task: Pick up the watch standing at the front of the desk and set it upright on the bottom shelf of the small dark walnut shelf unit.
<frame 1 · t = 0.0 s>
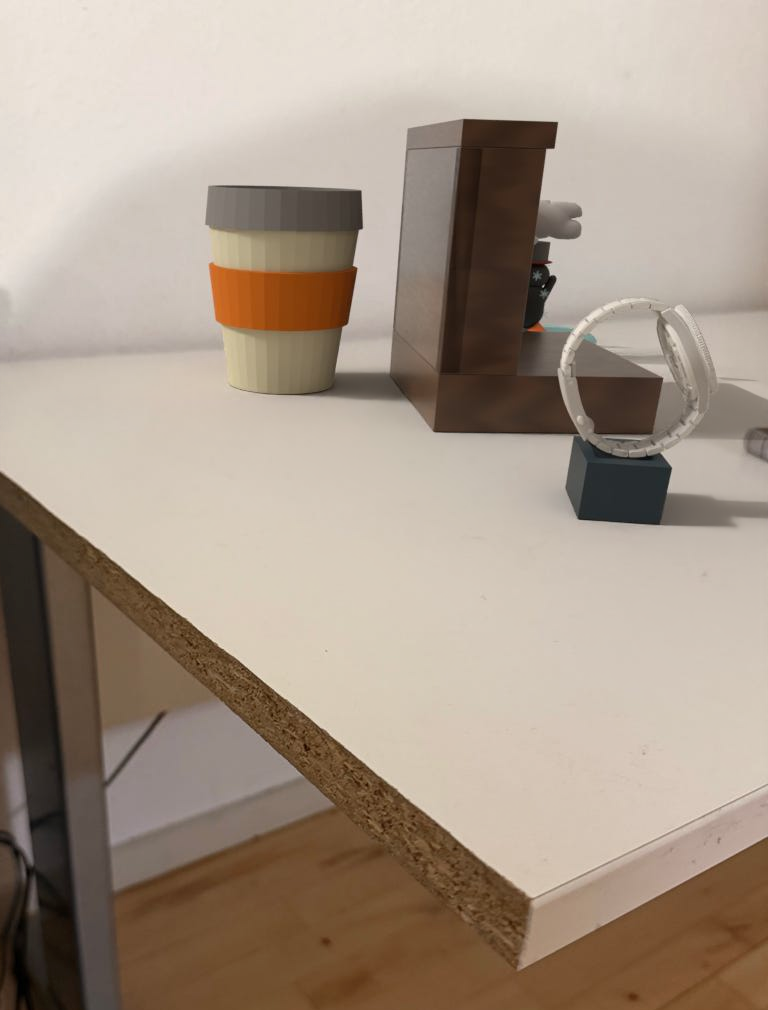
penguin figurine: (494, 353, 98), on the table
reusable coffee cup: (280, 385, 81), on the table
shelf: (506, 401, 77), on the table
watch: (611, 508, 54), on the table
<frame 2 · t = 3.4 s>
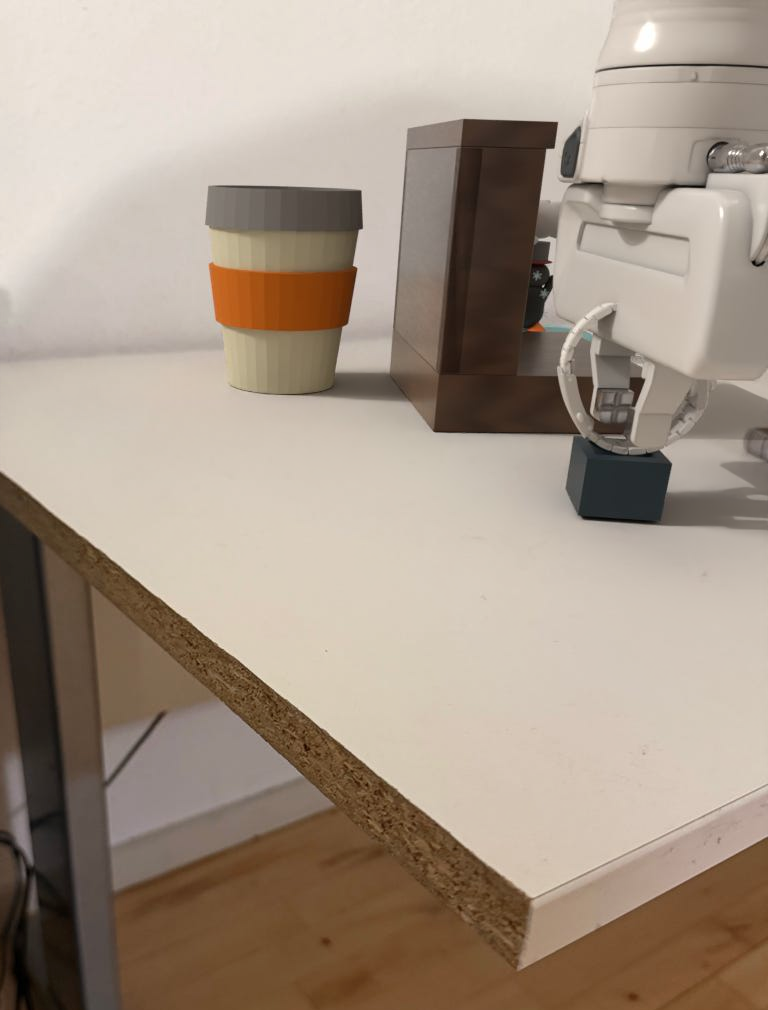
hand: (625, 432, 52), 4 cm above the table, tool pointing down, fingers closed on watch, 4 cm apart
watch: (611, 507, 54), on the table, touching gripper
everything else where it was.
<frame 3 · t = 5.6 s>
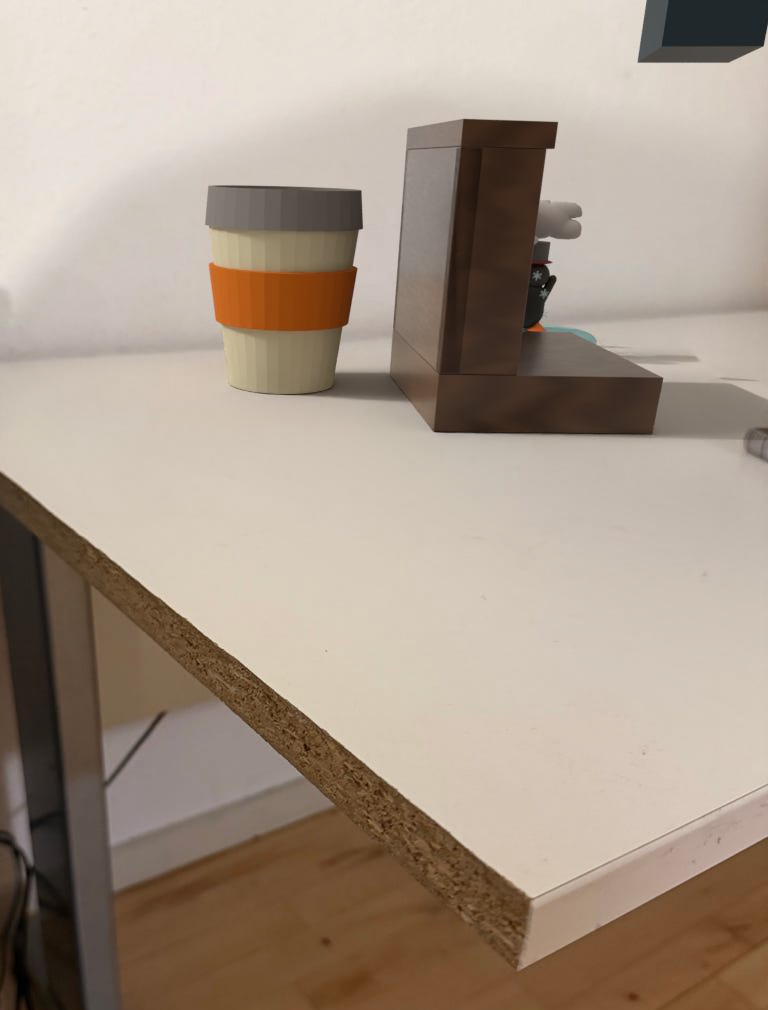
watch: (697, 60, 44), point 22 cm above the table, touching gripper
everything else where it was.
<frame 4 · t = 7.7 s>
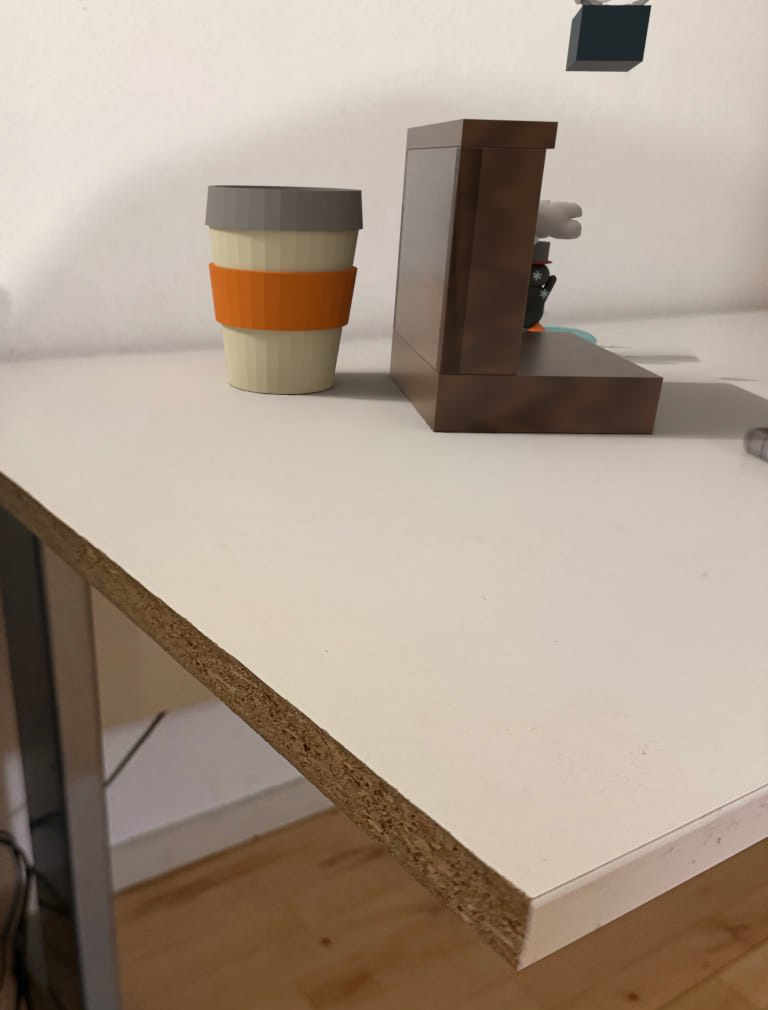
watch: (603, 69, 65), point 23 cm above the table, touching gripper
everything else where it was.
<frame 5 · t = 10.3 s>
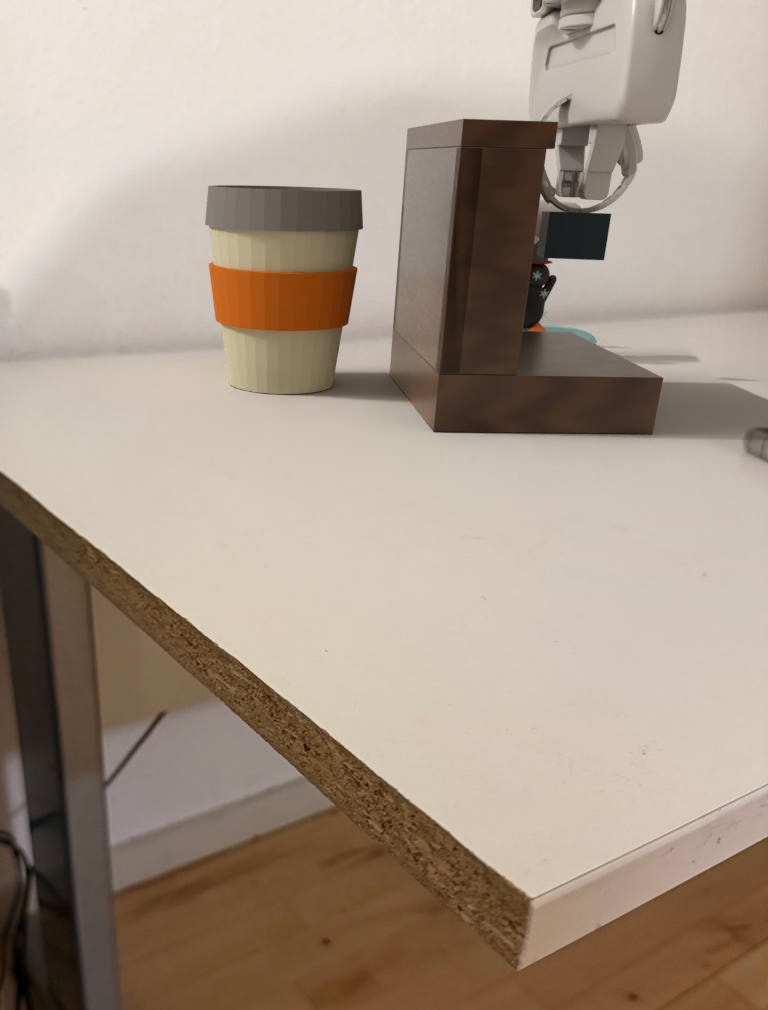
hand: (579, 198, 70), 15 cm above the table, tool pointing down, fingers closed on watch, 4 cm apart
watch: (569, 260, 72), point 11 cm above the table, touching gripper
everything else where it was.
when the fingers open (8 cm above the table, at t = 12.3 s): watch stays where it is, resting on shelf.
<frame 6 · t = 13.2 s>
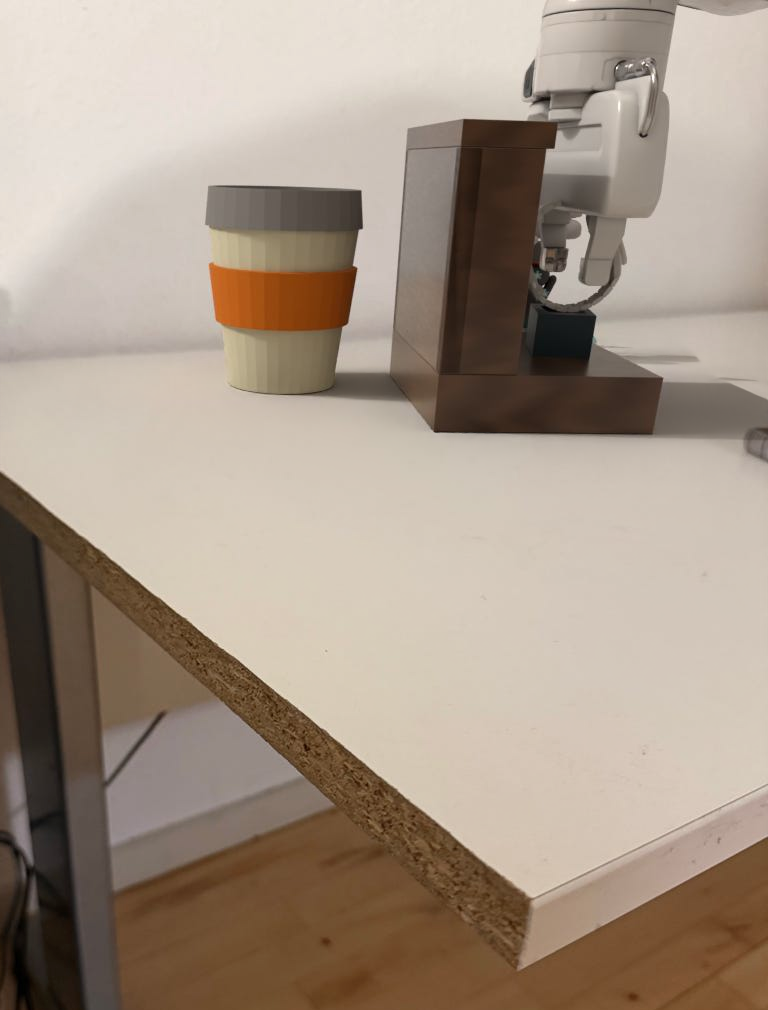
hand: (571, 277, 73), 9 cm above the table, tool pointing down, fingers open, 8 cm apart
watch: (557, 353, 75), point 4 cm above the table, touching shelf
everything else where it was.
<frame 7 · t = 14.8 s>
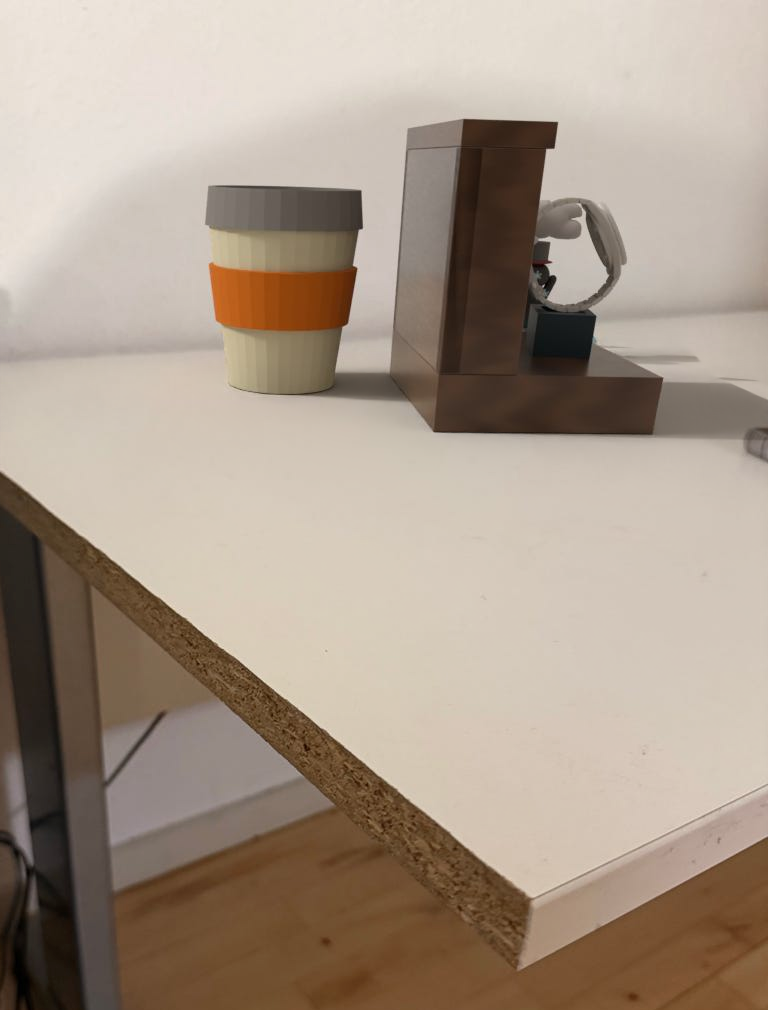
nothing on the table moved.
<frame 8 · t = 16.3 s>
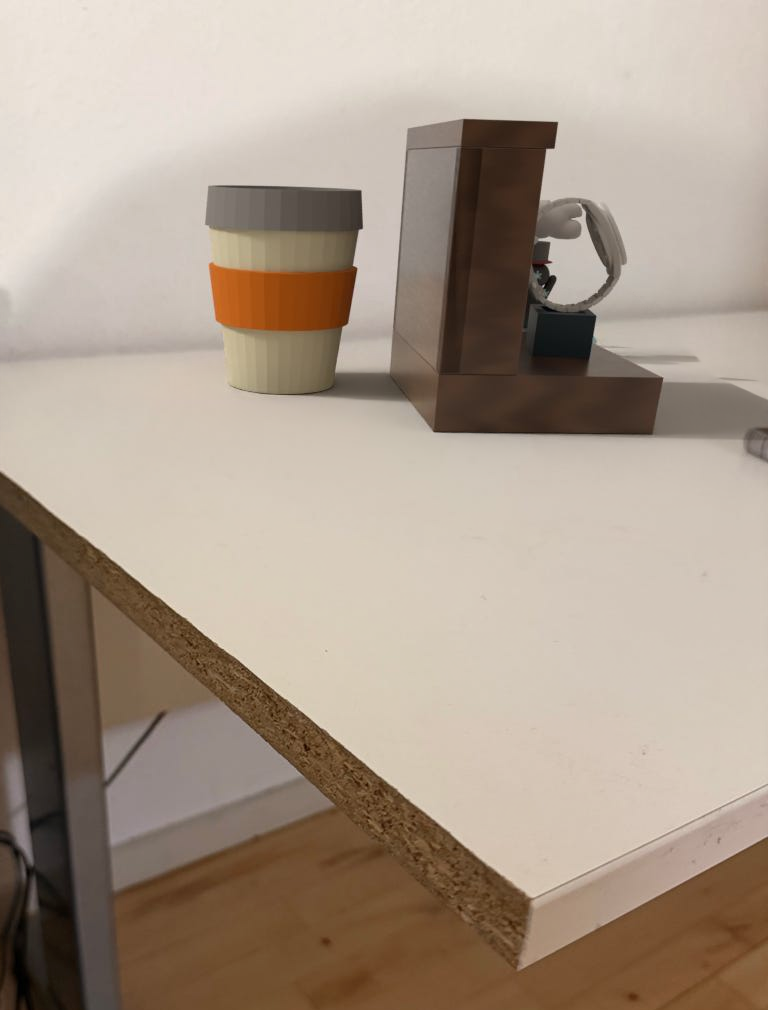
nothing on the table moved.
at the end: watch inside the target area on the shelf (0.4 cm from its centre), point 3.8 cm above the shelf's base; watch tilted 0°; the gripper is holding nothing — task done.
